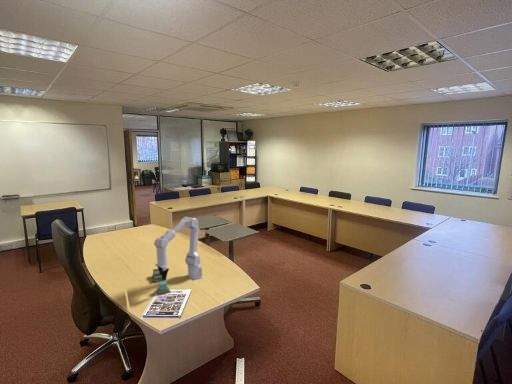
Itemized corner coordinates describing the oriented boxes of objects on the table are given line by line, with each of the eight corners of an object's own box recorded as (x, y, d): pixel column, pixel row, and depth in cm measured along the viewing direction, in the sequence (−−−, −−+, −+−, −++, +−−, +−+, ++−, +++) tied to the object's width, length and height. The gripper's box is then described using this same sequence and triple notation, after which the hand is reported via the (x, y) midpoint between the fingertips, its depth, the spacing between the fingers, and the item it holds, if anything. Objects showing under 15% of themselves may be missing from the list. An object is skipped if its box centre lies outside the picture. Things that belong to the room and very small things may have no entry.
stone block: (152, 285, 183) (151, 278, 182) (151, 276, 196) (151, 269, 195) (166, 282, 186) (165, 275, 186) (164, 274, 199) (164, 267, 199)
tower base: (168, 289, 177) (168, 287, 177) (171, 295, 170) (171, 292, 170) (155, 293, 173) (155, 290, 173) (157, 298, 167) (157, 295, 166)
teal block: (165, 286, 174) (165, 280, 173) (167, 289, 170) (166, 283, 170) (159, 287, 172) (159, 282, 171) (160, 290, 168) (160, 284, 168)
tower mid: (166, 288, 176) (166, 285, 175) (168, 292, 171) (168, 289, 170) (156, 290, 173) (156, 287, 172) (158, 294, 168) (158, 291, 167)
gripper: (153, 254, 174) (154, 274, 176) (157, 261, 161) (158, 283, 163) (164, 252, 177) (165, 271, 179) (169, 259, 165) (170, 280, 167)
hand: (163, 277), depth 171 cm, fingers open, 7 cm apart
